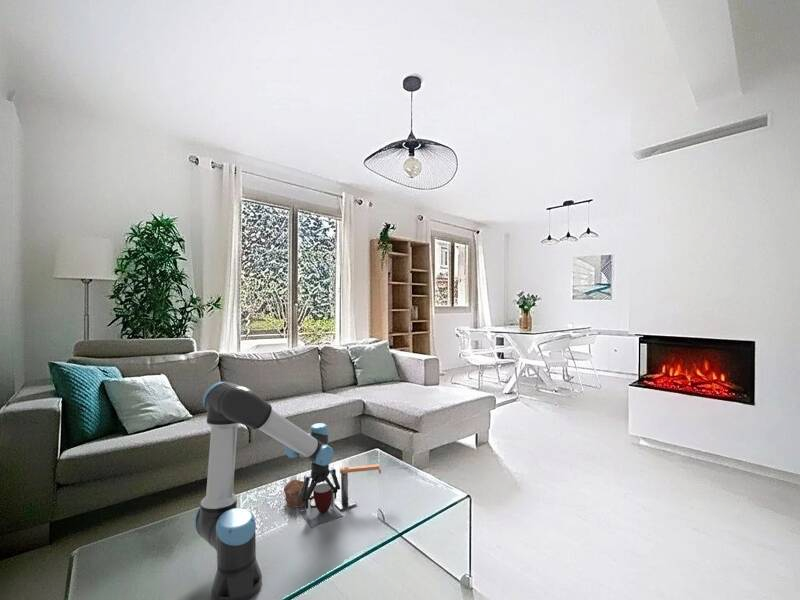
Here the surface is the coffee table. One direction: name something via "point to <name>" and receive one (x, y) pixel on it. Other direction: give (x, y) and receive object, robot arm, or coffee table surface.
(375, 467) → the ball-ended drumstick
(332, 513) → the mat
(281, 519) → the coffee table surface
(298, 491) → the decorative rock
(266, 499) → the coffee table surface
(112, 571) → the coffee table surface
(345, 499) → the clip post
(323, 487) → the mug
